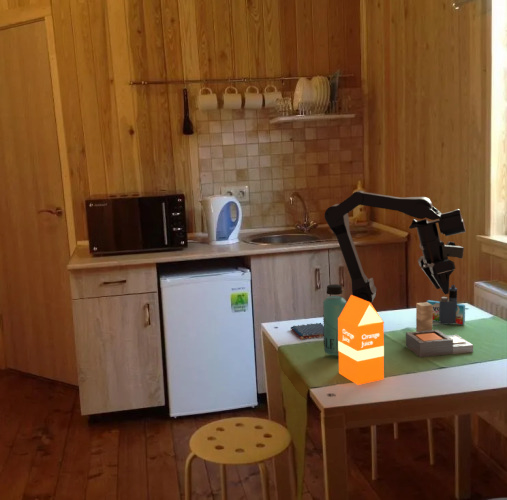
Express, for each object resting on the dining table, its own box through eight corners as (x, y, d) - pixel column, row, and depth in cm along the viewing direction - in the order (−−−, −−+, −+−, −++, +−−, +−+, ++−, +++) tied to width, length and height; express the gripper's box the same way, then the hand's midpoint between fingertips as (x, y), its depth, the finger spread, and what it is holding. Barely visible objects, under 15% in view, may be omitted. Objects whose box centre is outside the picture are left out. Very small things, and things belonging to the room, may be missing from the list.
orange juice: (357, 385, 152) (356, 304, 148) (338, 373, 160) (336, 296, 156) (384, 379, 155) (384, 300, 151) (364, 367, 163) (363, 292, 159)
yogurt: (425, 319, 201) (425, 301, 200) (427, 318, 203) (427, 300, 201) (463, 325, 194) (463, 305, 193) (464, 323, 195) (465, 304, 194)
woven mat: (334, 337, 189) (333, 331, 189) (300, 341, 186) (300, 335, 186) (321, 327, 199) (321, 321, 199) (289, 331, 196) (289, 325, 196)
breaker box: (420, 357, 168) (420, 343, 167) (405, 346, 177) (405, 332, 177) (473, 352, 171) (473, 337, 170) (456, 341, 180) (456, 327, 179)
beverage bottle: (350, 354, 173) (349, 283, 169) (343, 362, 167) (342, 288, 163) (328, 351, 176) (326, 281, 172) (320, 359, 170) (318, 287, 166)
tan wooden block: (421, 335, 186) (421, 306, 184) (416, 332, 189) (416, 303, 188) (432, 334, 186) (432, 305, 185) (427, 331, 190) (427, 302, 188)
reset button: (423, 346, 170) (423, 340, 170) (415, 339, 175) (415, 334, 175) (443, 344, 171) (443, 339, 171) (434, 338, 176) (434, 332, 176)
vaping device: (457, 324, 195) (458, 286, 192) (439, 324, 196) (440, 286, 194) (456, 321, 197) (457, 284, 195) (438, 321, 198) (439, 284, 196)
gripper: (466, 235, 173) (480, 289, 174) (448, 230, 191) (460, 279, 193) (427, 245, 174) (440, 299, 175) (412, 239, 192) (424, 288, 194)
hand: (442, 291), depth 184 cm, fingers open, 9 cm apart
